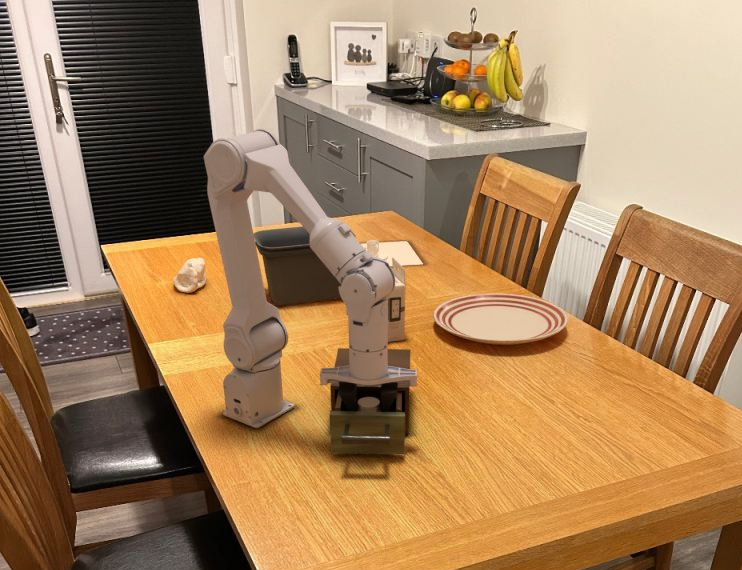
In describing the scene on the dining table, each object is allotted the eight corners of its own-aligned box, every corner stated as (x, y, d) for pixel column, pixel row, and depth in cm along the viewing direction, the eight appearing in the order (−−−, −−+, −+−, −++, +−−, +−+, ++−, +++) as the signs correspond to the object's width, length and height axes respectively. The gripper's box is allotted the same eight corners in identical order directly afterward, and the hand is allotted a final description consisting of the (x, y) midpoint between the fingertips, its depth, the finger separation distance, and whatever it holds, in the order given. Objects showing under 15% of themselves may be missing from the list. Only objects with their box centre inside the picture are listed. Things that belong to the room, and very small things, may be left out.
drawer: (403, 471, 117) (404, 431, 114) (328, 469, 118) (326, 430, 114) (405, 412, 133) (406, 376, 129) (338, 411, 133) (337, 375, 130)
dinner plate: (405, 325, 167) (406, 310, 165) (495, 295, 182) (497, 281, 180) (502, 368, 149) (504, 352, 147) (593, 332, 164) (596, 316, 162)
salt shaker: (385, 431, 125) (385, 400, 122) (371, 441, 123) (371, 409, 120) (366, 425, 127) (366, 394, 124) (352, 434, 125) (352, 403, 122)
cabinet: (408, 433, 128) (409, 387, 124) (332, 432, 129) (330, 385, 124) (409, 393, 141) (410, 349, 136) (339, 391, 141) (338, 348, 137)
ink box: (369, 327, 166) (369, 258, 158) (392, 325, 167) (393, 255, 159) (381, 343, 159) (382, 271, 151) (405, 340, 160) (406, 269, 152)
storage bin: (265, 312, 173) (260, 247, 165) (254, 289, 185) (248, 227, 178) (360, 302, 178) (359, 238, 170) (343, 280, 191) (341, 219, 183)
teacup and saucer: (354, 252, 208) (354, 237, 206) (384, 251, 210) (384, 235, 207) (359, 263, 201) (359, 247, 199) (390, 261, 202) (390, 245, 200)
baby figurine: (193, 275, 194) (210, 248, 190) (207, 308, 188) (225, 281, 183) (161, 266, 188) (177, 238, 183) (175, 300, 182) (192, 271, 177)
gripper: (417, 334, 120) (415, 413, 127) (321, 333, 121) (325, 412, 128) (417, 353, 114) (415, 435, 121) (316, 352, 115) (320, 434, 122)
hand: (369, 425), depth 124 cm, fingers closed on salt shaker, 3 cm apart
